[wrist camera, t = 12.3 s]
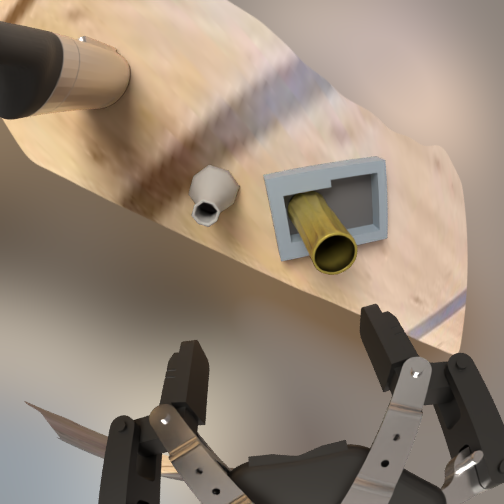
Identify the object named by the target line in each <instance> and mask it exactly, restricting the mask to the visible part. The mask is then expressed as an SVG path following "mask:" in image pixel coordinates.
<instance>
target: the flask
mask: <svg viewBox="0 0 504 504" xmlns="http://www.w3.org/2000/svg"><path fill="white" fill-rule="evenodd" d="M239 187H240V186H239V185H238V183H237V182H236V180H235V179H234V178H233V176H232V175H231V174H230V172H229V171H228V170H225V169H222V168H218V167H215V166H211V165H208V166H207V167H205V168H204V169H203V170H201V171H200V172H198V173H197V174H196V175H194V176H193V179H192V183H191V186H190V190H189V196H190V197H191V198H192V200H193V201H194V202H195V205H194V208H193V212H192V217H193V218H194V219H195V221H196V222H197V223H198V224H200V225H204V226H207V227H209V226H211V225H212V224H214V223H215V222H217V220H218V217H219V214H220V212H222V211H223V210H225V209H226V208H228V207H229V206H231V205H232V204H234V201H235V198H236V195H237V192H238V189H239Z"/></svg>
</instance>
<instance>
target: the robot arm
mask: <svg viewBox="0 0 504 504" xmlns="http://www.w3.org/2000/svg"><path fill="white" fill-rule="evenodd" d="M129 78H130V69H129V65H128V63H127V61H126V59H125V58H124V57H123V56H121V55H119V54H118V53H117V52H116V48H114V47H112V46H109V45H107V44H105V43H102V42H99V41H97V40H94V39H92V38H89V37H86V36H83V37H81V38H79V39H74V38H71V37H67V36H63V35H60V34H56V33H52V32H49V31H44V30H40V29H35V28H31V27H26V26H21V25H16V24H11V23H6V22H2V21H0V117H1V118H4V119H18V118H23V117H29V116H35V115H41V114H48V113H55V112H64V111H74V110H86V109H99V108H105V107H108V106H110V105H112V104H113V103H115V102H116V101H117V100H118V99H119V98H120V97H121V96H122V95H123V93H124V92H125V90H126V88H127V85H128V83H129ZM360 335H361V339H362V342H363V344H364V346H365V348H366V351H367V353H368V356H369V358H370V360H371V363H372V365H373V368H374V370H375V372H376V375H377V377H378V380H379V382H380V384H381V387H382V390H383V392H386V391H389V390H390V391H391V393H392V398H391V400H390V403H389V406H388V408H387V411H386V413H385V416H384V418H383V421H382V423H381V426H380V428H379V430H378V432H377V435H376V437H375V439H374V441H373V443H372V445H371V447H370V448H368V447H364V446H360V445H352V444H350V445H347V443H346V440H343V441H339V442H335V443H331V444H327V445H323V446H320V447H318V448H316V449H314V450H311V451H309V452H307V453H305V454H302V455H299V456H287V455H275V454H271V455H262V456H251V457H249V462H246V463H244V464H242V465H240V466H238V467H236V468H234V469H233V470H232V471H231V470H230V468H229V467H228V466H227V465H226V464H225V463H223V461H221V459H220V458H219V457H218V456H217V455H216V454H215V453H214V452H213V450H212V449H211V448H210V447H209V446H208V445H207V443H206V442H205V441H204V440H203V438H202V437H201V436H200V435H199V433H198V432H197V429H198V425H205V421H206V405H207V392H208V380H209V363H208V359H207V357H206V355H205V353H204V351H203V350H202V348H201V346H200V344H199V342H198V341H197V340H193V341H184V342H182V343H181V346H180V351H179V353H174V354H173V355H172V357H171V358H170V360H169V362H168V366H167V372H166V376H165V377H166V378H165V381H164V385H163V390H162V395H161V400H160V404H159V406H157V407H156V408H154V409H153V410H152V412H151V413H150V415H149V416H146V417H143V418H139V419H136V420H133V419H131V418H130V417H128V416H125V415H123V416H119V417H117V418H116V419H114V420H113V422H112V423H111V426H110V430H109V436H108V441H107V446H106V452H105V458H104V464H103V470H102V477H101V485H100V493H99V503H98V504H160V479H161V461H162V453H165V452H168V453H169V455H170V456H169V460H170V461H171V463H172V464H173V466H174V467H175V469H176V470H177V472H178V473H179V474H180V476H181V477H182V479H183V480H184V481H185V483H186V484H187V485H188V487H189V488H190V489H191V491H192V492H193V493H194V494H195V496H196V497H197V498H198V499H199V501H200V502H201V503H202V504H462V503H464V502H465V501H467V500H469V499H471V498H472V497H474V496H476V495H478V494H481V493H483V492H485V491H487V490H490V489H492V488H494V487H496V486H498V485H500V484H502V483H504V424H503V422H502V420H501V417H500V415H499V412H498V410H497V408H496V406H495V404H494V401H493V399H492V397H491V395H490V393H489V391H488V389H487V387H486V385H485V383H484V381H483V379H482V377H481V375H480V373H479V371H478V369H477V367H476V366H475V364H474V362H473V360H472V359H471V357H470V356H468V355H467V354H464V353H456V354H454V355H452V356H451V357H450V359H449V361H448V362H438V363H430V362H428V361H427V360H426V359H424V358H422V357H419V355H418V354H417V352H416V350H415V349H414V347H413V345H412V344H411V342H410V340H409V338H408V336H407V335H406V333H405V332H404V330H403V328H402V326H401V325H400V323H399V321H398V320H397V318H396V317H395V316H394V315H392V314H391V313H390V312H388V311H387V312H384V313H382V312H381V310H380V308H379V306H378V305H377V304H373V305H369V306H366V307H362V308H361V319H360ZM432 404H433V405H434V408H435V411H436V414H437V416H438V419H439V422H440V425H441V428H442V430H443V433H444V436H445V439H446V442H447V446H448V449H449V452H450V455H451V460H450V461H449V462H448V464H447V465H446V468H445V481H444V484H443V486H442V487H441V489H440V488H439V487H437V486H435V485H433V484H431V483H430V482H427V481H426V480H424V479H422V478H420V477H418V476H416V475H415V474H413V473H411V472H409V471H407V470H406V469H404V466H405V463H406V461H407V459H408V456H409V453H410V451H411V448H412V445H413V443H414V440H415V437H416V434H417V431H418V428H419V425H420V422H421V419H422V415H423V412H422V408H423V405H432Z"/></svg>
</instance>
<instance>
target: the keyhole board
mask: <svg viewBox="0 0 504 504" xmlns="http://www.w3.org/2000/svg"><path fill="white" fill-rule="evenodd" d="M263 176H264V181H265V186H266V190H267V195H268V200H269V205H270V210H271V214H272V219H273V224H274V229H275V234H276V239H277V244H278V250H279V254H280V258H281V261H286V260H291V259H295V258H300V257H305V256H309V253H308V251H307V249H306V247H305V245H304V242H303V240H302V238H301V236H300V234H299V232H298V231H297V229H296V227H295V226H294V224H293V222H292V221H291V220H290V218H289V215H288V205H289V202H290V200H291V199H292V198H293V197H294V196H295V195H296V194H297V193H302V192H307V191H315V192H317V193H319V194H321V195H322V196H323V198H324V199H325V201H326V204H327V205H328V206H329V207H330V209H331V210H332V211H333V212H334V213H335V215H336V216H337V218H338V219H339V220H340V222H341V223H342V224H343V225H344V227H345V228H346V229H347V230H348V232H349V233H350V234H351V235H352V237H353V238H354V240H355V242H356V244H357V245H360V244H364V243H369V242H373V241H378V240H382V239H387V225H388V213H387V179H386V163H385V160H384V159H381V158H379V157H377V156H376V157H367V158H360V159H352V160H345V161H339V162H332V163H326V164H320V165H314V166H308V167H302V168H297V169H291V170H286V171H281V172H276V173H271V174H266V175H263Z"/></svg>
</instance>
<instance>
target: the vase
mask: <svg viewBox="0 0 504 504" xmlns="http://www.w3.org/2000/svg"><path fill="white" fill-rule="evenodd" d="M288 215H289V218H290V220H291V221H292V222H293V224H294V226H295V227H296V229H297V231H298V232H299V234H300V236H301V238H302V240H303V242H304V245H305V247H306V249H307V251H308V253H309V255H310V257H311V259H312V261H313V264H314V266H315V267H316V269H317V270H319V271H320V272H322V273H325V274H329V275H334V274H339V273H342V272H344V271H345V270H347V269H348V268H350V267H351V266H352V264H353V263H354V261H355V259H356V257H357V244H356V242H355V240H354V238H353V237H352V235H351V234H350V233H349V232H348V230H347V229H346V228H345V227H344V225H343V224H342V223H341V222H340V220H339V219H338V218H337V216H336V215H335V213H334V212H333V211H332V210H331V209H330V207H329V206H328V205H327V204H326V201H325V199H324V198H323V196H322V195H321V194H319V193H317V192H315V191H307V192H302V193H297V194H296V195H295V196H294V197H293V198H292V199H291V200H290V202H289V205H288Z"/></svg>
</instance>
